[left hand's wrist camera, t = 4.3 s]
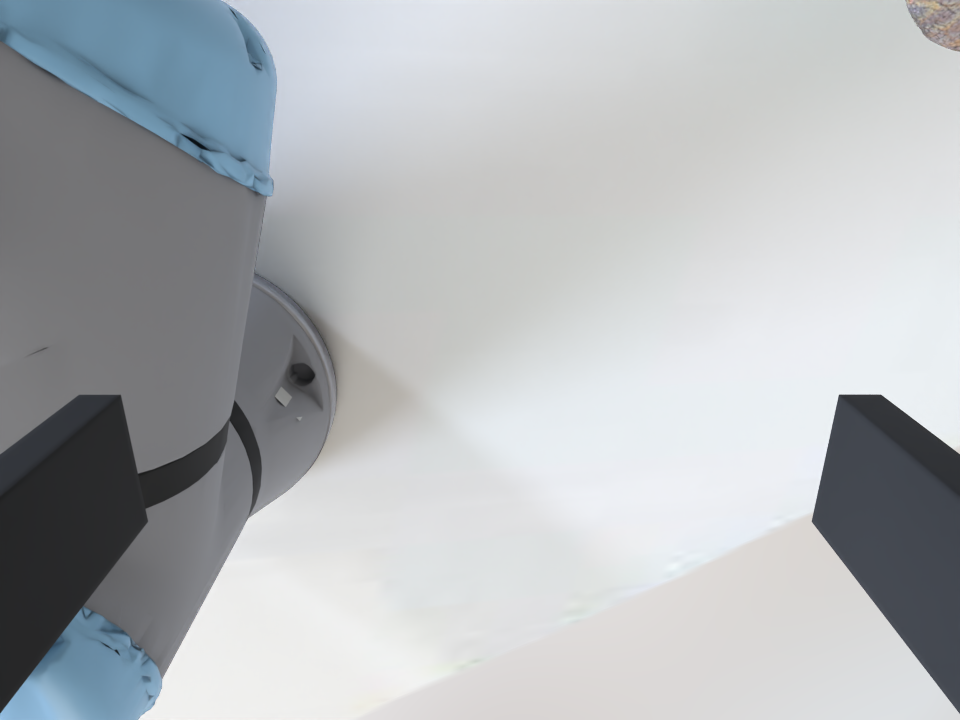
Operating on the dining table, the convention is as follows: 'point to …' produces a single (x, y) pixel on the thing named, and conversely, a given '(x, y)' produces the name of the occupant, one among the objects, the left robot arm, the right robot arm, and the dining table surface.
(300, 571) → the dining table surface
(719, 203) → the dining table surface
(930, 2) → the speckled felt slipper
